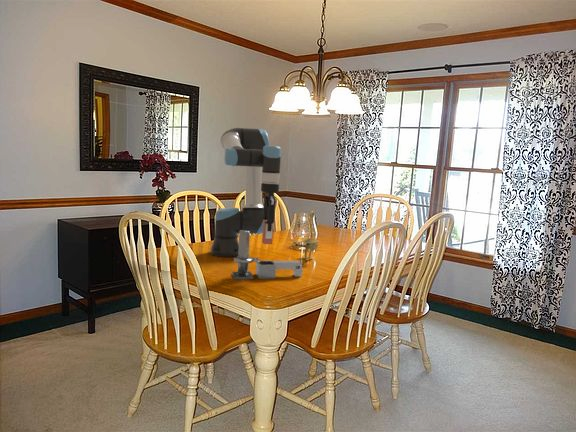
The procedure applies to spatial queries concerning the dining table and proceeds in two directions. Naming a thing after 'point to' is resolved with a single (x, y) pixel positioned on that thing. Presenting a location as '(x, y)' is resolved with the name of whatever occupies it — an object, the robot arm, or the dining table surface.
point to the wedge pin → (265, 241)
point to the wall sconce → (310, 240)
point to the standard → (243, 257)
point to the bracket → (269, 268)
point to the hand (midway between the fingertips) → (267, 237)
